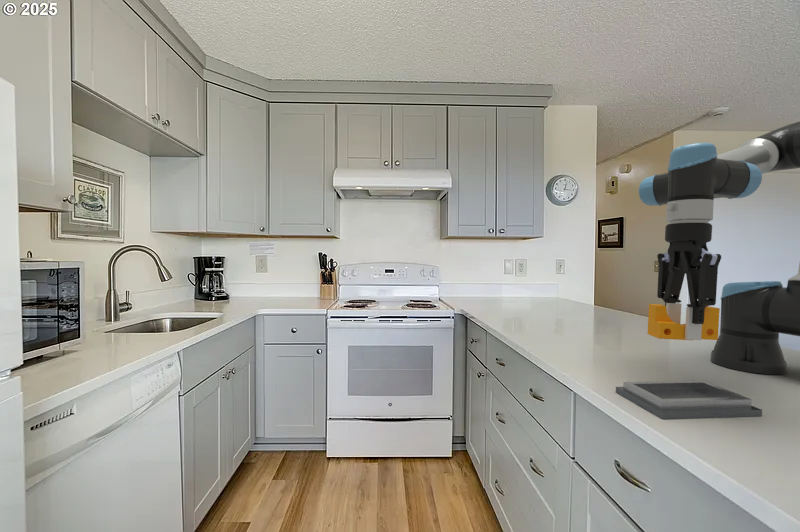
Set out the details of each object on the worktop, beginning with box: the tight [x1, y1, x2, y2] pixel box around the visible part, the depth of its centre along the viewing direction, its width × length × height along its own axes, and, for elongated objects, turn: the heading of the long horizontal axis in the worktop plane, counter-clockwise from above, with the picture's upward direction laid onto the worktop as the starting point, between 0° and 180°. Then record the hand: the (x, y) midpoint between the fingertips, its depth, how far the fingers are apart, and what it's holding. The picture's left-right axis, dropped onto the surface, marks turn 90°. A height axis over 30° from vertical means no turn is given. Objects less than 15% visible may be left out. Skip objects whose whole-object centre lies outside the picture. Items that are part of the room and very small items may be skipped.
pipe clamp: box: [647, 303, 721, 341], centre depth 76 cm, size 12×4×6 cm, turn 83°
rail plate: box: [615, 379, 763, 420], centre depth 75 cm, size 20×13×3 cm, turn 95°
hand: (682, 336), depth 76 cm, fingers closed on pipe clamp, 5 cm apart
